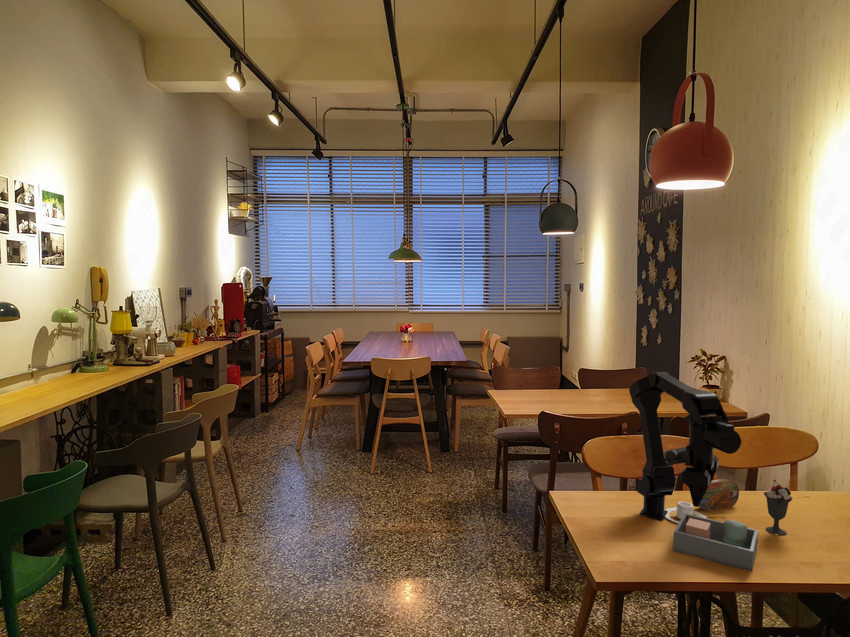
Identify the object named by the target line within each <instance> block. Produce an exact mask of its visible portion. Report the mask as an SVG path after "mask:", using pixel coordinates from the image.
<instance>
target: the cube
mask: <svg viewBox="0 0 850 637" xmlns="http://www.w3.org/2000/svg"><path fill="white" fill-rule="evenodd" d="M710 528H711V523H708V522H704V521H700V520H696V519H692V518H689V520H688V522H687V524H686V534H690V535H694V536H698V537H702V538H706V539H710Z"/></svg>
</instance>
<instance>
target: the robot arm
mask: <svg viewBox="0 0 850 637" xmlns="http://www.w3.org/2000/svg"><path fill="white" fill-rule="evenodd" d="M628 391H629V394H630V399H631V403H632V404H633V405H634V407H635V408H636V409H637V410H638V412H639V419H640V424H641V431H642V438H643V446H644V451H645V459H646V461H645V464H644V466H643V468H642V472H641V473H642V478H641V479H640V480H639V481H638V482H637V483H636V484H635V486H636V492H637V493H639V494H640V495H641V496H643V506H642V509H641V510H640V512H639V515H640V516H644V517H648V518H652V519H656V520H660V521H663V520H664V519H666V517H665V516H666V514H667V513H668V511H666V510H665V504H666V502H665V500H666V496H673V493H674V490H675V488H676V481H677V478H676V476H675V468H674V467H673V466H674V465H680V464H684V466H686V467H685V468H683V469H682V471H681V472H680V476H679V477H680V478H679V479H680V480H679V481H680V482H682V484H685V485H686V486H687V487H688V489H689V493H690V498H691V502H692V505H693V507H696V508H699V507H698V506H699V504H700V502H701V500H702V498H703V496H704V495H705V493H706V491H707V489H708V487H709V485H710V483H711V481H712V480H714V477H715V474H716V473H717V470H718V468H719V465H720V464H719V462H720V458H718V457H717V455H715V454H714V451H715V450H717V451H720V452H723V453H725V454H728V455H732V454H735V453H736V452H738V451H739V449H740V448H741V445H742V439H741V435H740V434H739V432H737V431H736V430H735V426H734V425H733V424H728V423H729V419H728V417H727V416H728V415H727V413H726V411H725V410H724V408H723V405H722V403H721V401H720V399H719V397H718V395H717V394H715V393H714V392H710V391H707V390H701V389H696V388H693V387H691V386H690V385H688V384H686V383H684V382H683V381H680V380H679V379H677V378H675V377H674V376H671V375H670V373H668V372H666V371H654V372H653V371H652V373H649V374H648V375H646V376H645V377H643V378H640V379H638V380H635V381H633V382H632V383H631V385H630V386H629V390H628ZM664 393H666V394H667V395H669V396H671V397H672V398H674V399H675V400H677V401H678V402H680V403H681V407H682V408H683V410H684V411H686V412H687V414H688V415H685V417H684V420H685V421H686V422H687V421H688V422H689V428H688V431H689V433H688V434H689V436H688V444H687V445H686V446H685V447H677V448H672V449H668V450H665V452H664V446H663V441H662V433H661V426H660V422H659V421H660V419H659V415H658V409H659V406H660V404H661V402H662V394H664Z"/></svg>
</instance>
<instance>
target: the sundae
mask: <svg viewBox="0 0 850 637" xmlns="http://www.w3.org/2000/svg"><path fill="white" fill-rule="evenodd" d="M775 483H776V485H775ZM791 494H792V492H791V491H790V489H789V488H787V487H786V486H785V487H783V486H782V485H781V484H778V483H777V480H776V479H773V486H771V489H769V490H768V491H765V492H763V495H764V496H765V498H766V503H767V505H766V506H767V511H768V512H767V513H768V514H769V516H770V517H771V518H772V519H773V525H772V526H767V527H766V528H765V531H766V530H767V531H768V532H767V531H766V532H767V533H769V532H770V533H769V534H771V533H773V534H772V535H774V534H778V535H777V536H779V535H784V536H787V534H788V533H787V531H786V530H784V529H783V528H780V521H781V520H783V519H784V518H786V516H787V511H788V508H789V503H790V502H792V500H793V497H792V496H791Z"/></svg>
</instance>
